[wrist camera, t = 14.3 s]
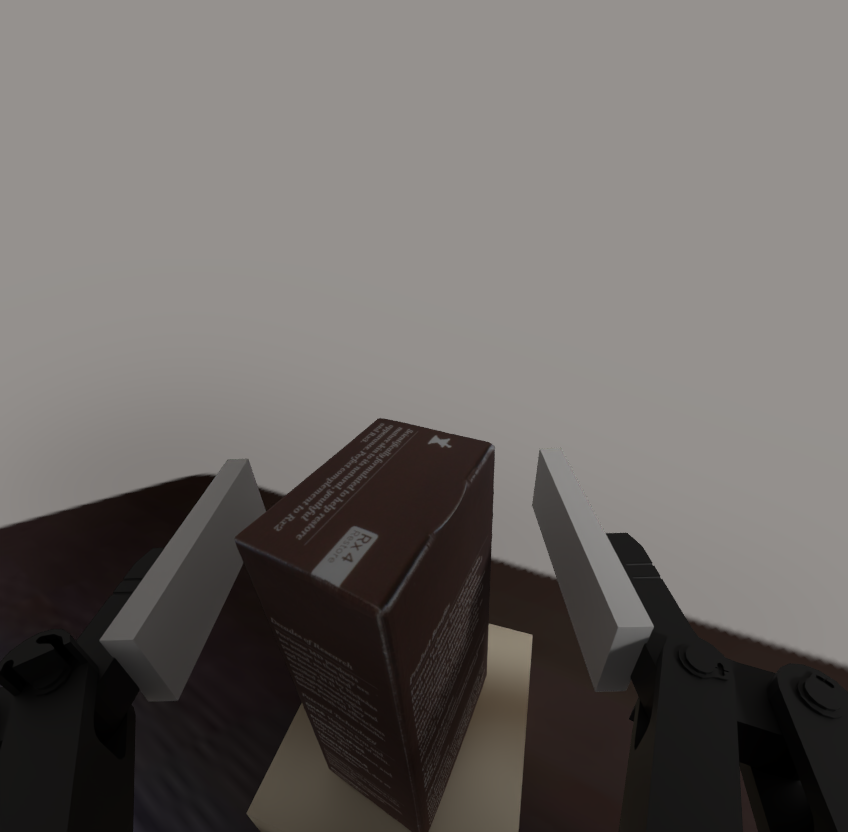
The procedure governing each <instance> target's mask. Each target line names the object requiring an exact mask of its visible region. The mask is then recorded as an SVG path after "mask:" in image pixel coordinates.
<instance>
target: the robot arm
mask: <svg viewBox="0 0 848 832" xmlns="http://www.w3.org/2000/svg"><path fill="white" fill-rule="evenodd" d="M532 506H533V509H534V512H535V515H536V518H537V521H538V524H539V527H540V530H541V532H542V535H543V539H544V542H545V544H546V547H547V550H548V553H549V556H550V559H551V562H552V565H553V568H554V571H555V574H556V577H557V580H558V583H559V586H560V589H561V592H562V595H563V598H564V601H565V604H566V607H567V610H568V613H569V616H570V619H571V621H572V624H573V627H574V630H575V633H576V636H577V639H578V642H579V645H580V648H581V651H582V654H583V657H584V660H585V663H586V666H587V669H588V672H589V675H590V678H591V681H592V684H593V686H594V689H595V692H596V691H626V689H627V687H628V685H629V683H630V680H632V682H633V684H634V687H635V689H636V691H637V694H638V696H639V698H638V700H637V702H636V704H635V706H634V709H633V711H632V713H631V715H630V718H629V719H630V720H631V721H633V722H634V723H633V731H632V738H631V746H630V753H629V760H628V768H627V775H626V782H625V790H624V797H623V805H622V812H621V819H620V827H619V832H743V826H742V807H741V788H740V769H741V773H742V776H743V780H744V783H745V787H746V790H747V794H748V797H749V801H750V804H751V808H752V811H753V815H754V818H755V822H756V826H757V829H758V832H848V692H847V691H846V690H845V689H844V688H843V687H841V686H840V685H839V684H838V683H837V682H836V681H835V680H833V679H831V678H830V677H828V676H827V675H825V674H824V673H822V672H820V671H819V670H816V669H813V668H811V667H808V666H805V665H801V664H787V665H785V666H783V667H781V668H780V669H779V670H778V671H777V673H773V672H769V671H766V670H762V669H759V668H755V667H752V666H748V665H744V664H741V663H738V662H735V661H732V660H730V659H727V658H725V657H724V656H723V655H722V654H721V653H720V652H719V651H718V650H717V649H716V648H715V647H714V646H713V645H711V644H710V643H708V642H706V641H704V640H703V639H701V638H699V637H698V636H697V635H696V633H695V632H694V631H693V629H692V628H691V626H690V624H689V623H688V621H687V619H686V618H685V616H684V614H683V613H682V611H681V609H680V608H679V606H678V605H677V603H676V601H675V600H674V598H673V596H672V595H671V593H670V591H669V590H668V588H667V586H666V585H665V583H664V582H663V580H662V579H661V578H660V575H659V573H658V571H657V570H656V568H655V566H653V565H652V562H651V560H650V558H649V557H648V555H647V553H646V552H645V550H644V548H643V547H642V546H641V545H640V544H639V543H638V542H637V541H636V540H635V539H633V538H632V537H631V536H630V535H629V534H628V533H605V531H604V529H603V528H602V526H601V524H600V522H599V520H598V518H597V516H596V514H595V512H594V510H593V508H592V506H591V504H590V503H589V501H588V499H587V497H586V495H585V493H584V491H583V489H582V487H581V485H580V483H579V481H578V480H577V478H576V476H575V474H574V472H573V470H572V468H571V466H570V464H569V462H568V461H567V459H566V456H565V455H564V453H563V451H562V449H561V448H547V449H540V451H539V459H538V466H537V474H536V481H535V489H534V496H533V504H532ZM265 512H266V510H265V507H264V504H263V501H262V498H261V495H260V492H259V490H258V487H257V484H256V481H255V478H254V475H253V472H252V469H251V466H250V463H249V460H248V459H230V460H227V461H226V463H225V464H224V465H223V467H222V468H221V470H220V471H219V473H218V474H217V475H216V477H215V478H214V479H213V481H212V482H211V484H210V485H209V486H208V488H207V489H206V491H205V492H204V494H203V495H202V496H201V498H200V499H199V501H198V502H197V503H196V505H195V506H194V508H193V509H192V510H191V512H190V513H189V515H188V516H187V517H186V519H185V520H184V522H183V523H182V525H181V526H180V527H179V529H178V530H177V532H176V533H175V534H174V536H173V537H172V539H171V540H170V541H169V543H168V544H167V546H166V547H165V548H153V549H151V550H150V551H149V552H148V553H147V554H145V555H144V556H143V557H142V558H141V559H139V560H138V561H137V562H136V563H135V564H134V565H133V567H132V568H131V569H130V571H129V572H128V573H127V575H126V576H125V577H124V580H123V582H121V583H120V584H119V585H118V586H117V588H116V589H115V590H114V592H113V595H111V596H110V597H109V598H108V600H107V601H106V602H105V604H104V605H103V606H102V608H101V609H100V610H99V611H98V613H97V614H96V615H95V617H94V618H93V619H92V621H91V622H90V623H89V625H88V626H87V627H86V629H85V630H84V631H83V633H82V634H81V635H80V636H79V638H78V639H77V640H76V641H75V640H74V638H73V637H72V636H71V635H70V634H69V633H68V632H66V631H65V630H63V629H51V630H48V631H44V632H41V633H38V634H36V635H34V636H32V637H31V638H29V639H27V640H25V641H23V642H22V643H21V644H19V645H18V646H17V647H15V648H14V649H13V650H12V651H10V652H9V653H8V654H7V655H6V656H5V658H4V659H3V660H2V661H1V662H0V685H2V686H3V687H1V688H0V832H133V809H134V762H135V711H134V707H133V706H132V705H131V704H132V702H133V701H134V699H135V697H136V695H137V693H138V692H139V690H140V691H141V693H142V694H143V695H144V696H145V698H146V699H147V700H148V701H178V700H179V698H180V695H181V693H182V691H183V689H184V687H185V685H186V683H187V681H188V679H189V677H190V674H191V672H192V670H193V668H194V666H195V664H196V662H197V660H198V658H199V655H200V653H201V651H202V649H203V647H204V645H205V643H206V641H207V639H208V637H209V634H210V632H211V630H212V628H213V626H214V624H215V622H216V620H217V618H218V615H219V613H220V611H221V609H222V607H223V605H224V603H225V601H226V599H227V596H228V594H229V592H230V590H231V588H232V586H233V584H234V582H235V580H236V578H237V575H238V573H239V571H240V569H241V567H242V565H243V560H242V558H241V555H240V553H239V551H238V549H237V546H236V543H235V540H234V538H235V536H237V535H238V534H239V533H240V532H241V531H243V530H244V529H245V528H246V527H248V526H249V525H250V524H251V523H253V522H254V521H255V520H256V519H258V518H259V517H260V516H261V515H262V514H264V513H265ZM739 766H740V768H739Z"/></svg>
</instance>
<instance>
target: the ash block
mask: <svg viewBox="0 0 848 832" xmlns="http://www.w3.org/2000/svg"><path fill="white" fill-rule="evenodd" d="M532 636H533V635H531V634H527V633H523V632H519V631H515V630H511V629H508V628H504V627H500V626H496V625H492V624H489V626H488V654H487V676H486V678H485V681H484V685H483V688H482V690H481V693H480V696H479V698H478V701H477V704H476V707H475V710H474V713H473V715H472V718H471V721H470V724H469V726H468V729H467V732H466V735H465V737H464V740H463V742H462V745H461V748H460V751H459V754H458V756H457V759H456V761H455V764H454V767H453V769H452V772H451V775H450V777H449V780H448V783H447V786H446V788H445V791H444V794H443V796H442V799H441V801H440V804H439V807H438V809H437V812H436V814H435V817H434V819H433V822H432V824H431V827H430V829H429V832H519V819H520V805H521V791H522V777H523V763H524V749H525V735H526V720H527V706H528V692H529V678H530V664H531V650H532ZM246 814H247V815H248V817H249V818H250V819H251V820H252V822H253V823H254V824H255V825H256V827H257V828H258V829H259V831H260V832H411V831H410V830H409V829H407V828H406V827H405V826H404V825H402V824H401V823H400V822H398V821H397V820H395V819H394V818H393V817H391V816H390V815H389V814H387V813H386V812H385V811H383V810H382V809H381V808H380V807H378V806H377V805H376V804H375V803H373V802H372V801H371V800H369V799H368V798H366V797H365V796H364V795H362V794H361V793H360V792H358V791H357V790H356V789H354V788H353V787H352V786H351V785H349V784H348V783H347V782H345V781H344V780H343V779H341V778H340V777H339V776H337V775H336V774H335V773H333V772H332V771H331V770H330V769H329V768H328V765H327V762H326V760H325V758H324V755H323V753H322V750H321V748H320V745H319V743H318V740H317V738H316V736H315V733H314V731H313V728H312V725H311V723H310V721H309V718H308V716H307V714H306V711H305V709H304V706H303V703H301V705H300V707H299V709H298V711H297V713H296V715H295V717H294V719H293V721H292V723H291V725H290V727H289V729H288V731H287V733H286V735H285V737H284V739H283V741H282V743H281V745H280V747H279V749H278V751H277V753H276V755H275V757H274V759H273V761H272V763H271V765H270V767H269V769H268V771H267V773H266V775H265V777H264V779H263V781H262V783H261V785H260V787H259V789H258V791H257V793H256V795H255V797H254V799H253V801H252V803H251V805H250V807H249V809H248V811H247V813H246Z"/></svg>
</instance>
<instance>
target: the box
mask: <svg viewBox="0 0 848 832" xmlns="http://www.w3.org/2000/svg"><path fill="white" fill-rule="evenodd" d="M494 451H495V446H494V445H492V444H491V443H489V442H485V441H481V440H476V439H472V438H468V437H463V436H459V435H454V434H449V433H445V432H441V431H437V430H432V429H428V428H424V427H420V426H416V425H411V424H407V423H402V422H398V421H393V420H388V419H381V418H380V419H377V420H376V421H375V422H374V423H373V424H371V425H370V426H369V427H368V428H367V429H365V430H364V431H363V432H362V433H361V434H359V435H358V436H357V437H356V438H355V439H353V440H352V441H351V442H350V443H349V444H348V445H346V446H345V447H344V448H343V449H342V450H340V451H339V452H338V453H337V454H336V455H334V456H333V457H332V458H330V459H329V460H328V461H327V462H326V463H325V464H323V465H322V466H321V467H320V468H318V469H317V470H316V471H315V472H314V473H312V474H311V475H310V476H309V477H307V478H306V479H305V480H304V481H303V482H301V483H300V484H299V485H298V486H297V487H295V488H294V489H293V490H292V491H291V492H289V493H288V494H287V495H286V496H284V497H283V498H282V499H281V500H279V501H278V502H277V503H276V504H275V505H273V506H272V507H271V508H270V509H269V510H267V511H266V512H265V513H264V514H262V515H261V516H260V517H259V518H258V519H256V520H255V521H254V522H253V523H251V524H250V525H249V526H248V527H246V528H245V529H244V530H243V531H241V532H240V533H239V534H238V535H237V536H235V538H234V540H235V543H236V546H237V549H238V551H239V553H240V555H241V558H242V560H243V563H244V565H245V567H246V569H247V571H248V574H249V576H250V578H251V582H252V584H253V586H254V588H255V590H256V593H257V595H258V598H259V600H260V603H261V605H262V608H263V610H264V613H265V615H266V618H267V620H268V622H269V624H270V626H271V629H272V632H273V635H274V637H275V639H276V642H277V644H278V646H279V649H280V651H281V653H282V656H283V657H284V660H285V663H286V666H287V668H288V670H289V672H290V675H291V677H292V680H293V682H294V684H295V687H296V690H297V692H298V695H299V698H300V700H301V702H302V703H303V706H304V709H305V711H306V714H307V716H308V718H309V721H310V723H311V725H312V728H313V731H314V733H315V736H316V738H317V740H318V743H319V745H320V748H321V750H322V753H323V755H324V758H325V760H326V762H327V765H328V768H329V769H330V770H331V771H332V772H333V773H335V774H336V775H337V776H339V777H340V778H341V779H343V780H344V781H345V782H347V783H348V784H349V785H351V786H352V787H353V788H354V789H356V790H357V791H358V792H360V793H361V794H362V795H364V796H365V797H366V798H368V799H369V800H371V801H372V802H373V803H375V804H376V805H377V806H378V807H380V808H381V809H382V810H383V811H385V812H386V813H387V814H389V815H390V816H391V817H393V818H394V819H395V820H397V821H398V822H400V823H401V824H402V825H404V826H405V827H406V828H407V829H409V830H410V831H411V832H429V829H430V827H431V824H432V822H433V819H434V817H435V814H436V812H437V809H438V807H439V804H440V801H441V799H442V796H443V794H444V791H445V788H446V786H447V783H448V780H449V777H450V775H451V772H452V769H453V767H454V764H455V761H456V759H457V756H458V754H459V751H460V748H461V745H462V742H463V740H464V737H465V735H466V732H467V729H468V726H469V724H470V721H471V718H472V715H473V713H474V710H475V707H476V704H477V701H478V698H479V696H480V693H481V690H482V688H483V685H484V681H485V678H486V676H487V654H488V626H489V597H490V571H491V541H492V519H493V494H494V492H493V482H494V481H493V480H494V459H495V458H494V456H495V454H494V453H495V452H494Z"/></svg>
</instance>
